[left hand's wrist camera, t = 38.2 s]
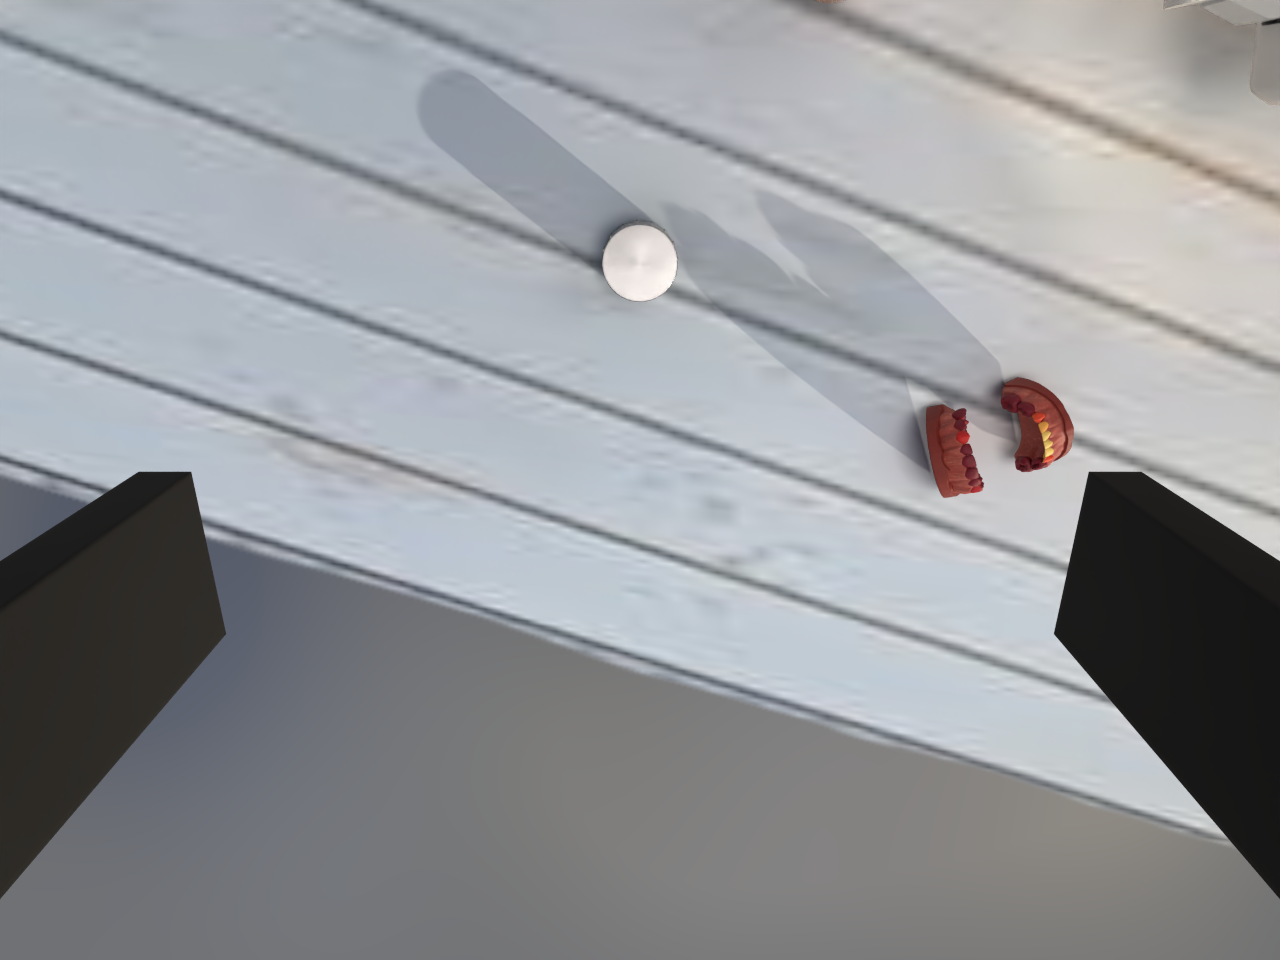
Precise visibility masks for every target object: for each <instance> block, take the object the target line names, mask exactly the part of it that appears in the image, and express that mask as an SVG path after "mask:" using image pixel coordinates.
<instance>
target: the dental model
mask: <svg viewBox="0 0 1280 960" xmlns="http://www.w3.org/2000/svg"><path fill="white" fill-rule="evenodd" d="M1002 392H1003V397H1002V398H1001V404H1002V407H1003V409H1006V410H1008V411H1009V412H1012V413H1016V412H1017V413H1018V417H1019V421H1020V426H1021V432H1022V439H1021V444H1020V446H1019V448H1018V450H1017V452H1016V454H1015V459H1016V461H1015V465H1016V469H1017V470H1020V471H1021V472H1031V471H1033V470H1039V469H1042V468H1045V467H1048V466H1049V465H1050V464H1051V463H1052V462H1053V461H1056V460H1058V459H1060V458H1061V457H1063V456H1065V455H1066V454H1067V453H1068V452H1069V450H1070V449H1071V446H1072V440H1073V435H1074V428H1073V424H1072V422H1071V419H1070V417H1069V415H1068V413H1067V412H1066V410H1065V408H1064V406H1063V404H1062V403H1061V401H1060V400H1059V399H1058V398H1057V397H1056V396H1055V395H1054V394H1053V393H1052V392H1051V391H1050V390H1048V389H1047V388H1045V387H1044V386H1042V385H1041V384H1039V383H1037V382H1034V381H1031V380H1028V379H1024V378H1019V377H1017V378H1015V379H1013V380H1011V381H1009V382H1007V383H1006V384H1004V387H1003V390H1002ZM968 423H969V421H967V420H966V409H964V408H962V409H958V410H956V411H955V410H953V409H951V408H948V407H947V406H945V405H943V404H942V405H937V406H932V407H927V410H926V431H927V440H928V448H929V453H930V459H931V464H932V468H933V472H934V476H935V480H936V483H937V486H938V489H939V491H940V493H941V495H942V496H943V497H944V498H947V497H953V496H957V495H959V494H960V493H961V494H968V493H976V492H980V491H982V490H983V489H982V488H983V487H984V486H983V485H984V483H983V482H982V477H980V474H979V473H978V470H977V468H976V461H975V458H974V456H973V455H971V454H972V453H973V452H972V448H971V446H970V444H966V443H967V442H968V440H969V437H970V435H969V434H968V433H967V430H966V428H967V426H966V425H967V424H968ZM967 455H968V456H967ZM972 467H973V468H972Z"/></svg>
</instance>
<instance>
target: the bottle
mask: <svg viewBox="0 0 1280 960" xmlns="http://www.w3.org/2000/svg"><path fill="white" fill-rule="evenodd" d="M815 1H818V2H823V3H837V2H842V1H845V0H815Z"/></svg>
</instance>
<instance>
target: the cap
mask: <svg viewBox="0 0 1280 960" xmlns="http://www.w3.org/2000/svg"><path fill="white" fill-rule="evenodd" d="M674 246H675V244H674V242H673V241H672V240H671V238H670V237H669V235H668V234H667V233H666V232H665V229H662V228H660V227H659V226H657V225H655V224H653V223H652V222H651V223H650V222H646V221H638V220H636V221H633V222H629V223H627V224H622V226H621V227H619V228H618V229H617V230H616V231H615V232H614V233H613V234H612V233H611V235H610V238H609V240H608V242H607V244H606V246H604V249H603V251H604V253H603V258H602V268H603V273H604V276H605V279H606V281H607V283H608V284H609V286H610V287H611V288H612V290H613V291H614V292H615V293H617V294H618V295H619V296H621V297H623V298H625V299H627V300H630V301H636V302H644V301H649V300H652V299H655V298H657V297H659V296H660V295H662V294H663V293H664V292H665V291H667V289H668V288H669V287H670V286H671V284H672V283H673V281H674V278H675V276H676V272H677V266H678V261H677V260H678V257H677V254H676V250H675V247H674Z"/></svg>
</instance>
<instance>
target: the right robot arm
mask: <svg viewBox="0 0 1280 960" xmlns="http://www.w3.org/2000/svg"><path fill="white" fill-rule="evenodd" d="M1198 4H1201V7H1202V8H1204V9H1205V10H1207V11H1209V12H1211V13H1213V14H1215V15H1216V16H1218V17H1220V18H1222V19H1224V20H1226V21H1228V22H1229V23H1231V24H1233V25H1235V26H1241V25H1247V24H1254V23H1257V27H1256V36H1255V44H1254V53H1253V61H1252V69H1251V77H1250V89H1251V91H1252V92H1253V93H1254V94H1255V95H1256V96H1257V97H1259V98H1260V99H1261V100H1263V101H1264V102H1266V103H1267V104H1269V105H1280V0H1164V9H1172V8H1178V7H1185V6H1191V5H1198Z"/></svg>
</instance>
